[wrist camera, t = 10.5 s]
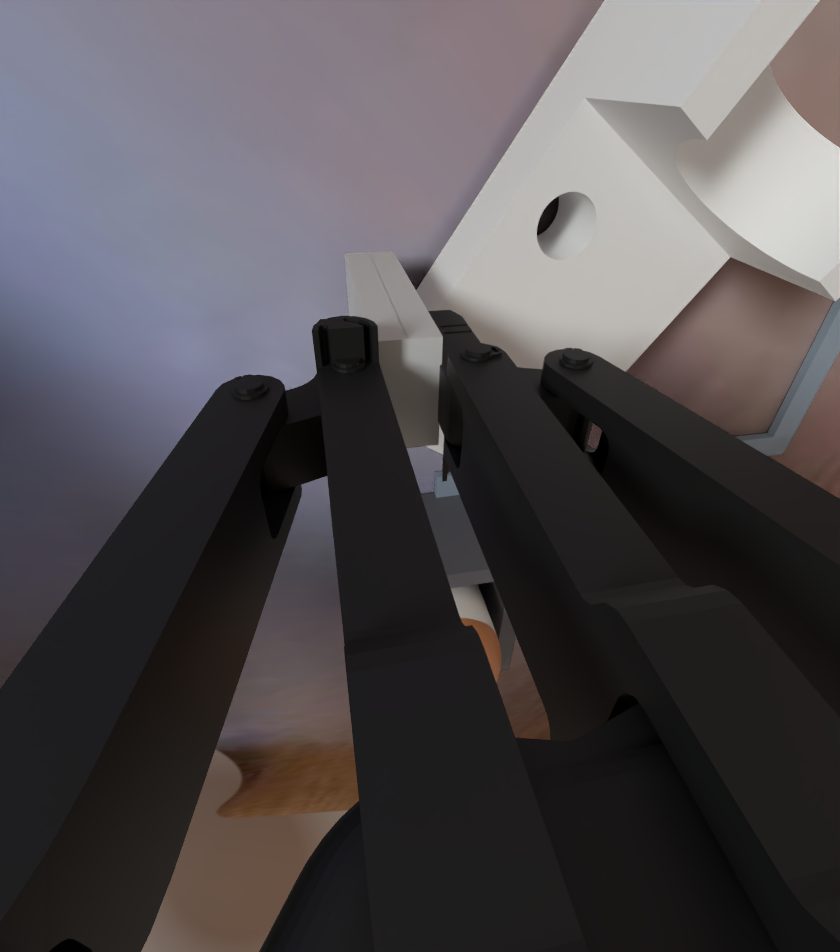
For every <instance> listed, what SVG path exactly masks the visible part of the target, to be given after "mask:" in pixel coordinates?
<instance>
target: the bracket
mask: <svg viewBox="0 0 840 952" xmlns="http://www.w3.org/2000/svg"><path fill="white" fill-rule="evenodd" d="M819 1H820V0H604V2H603V3H602V5H601V6H600V8H599V10H598V11H597V13H596V14H595V16H594V17H593V19H592V20H591V22H590V23H589V25H588V26H587V28H586V30H585V31H584V33H583V34H582V36H581V37H580V39H579V40H578V42H577V43H576V45H575V46H574V48H573V50H572V51H571V53H570V54H569V56H568V57H567V59H566V60H565V62H564V63H563V65H562V66H561V68H560V70H559V71H558V73H557V74H556V76H555V77H554V79H553V80H552V82H551V83H550V85H549V87H548V88H547V90H546V91H545V93H544V94H543V96H542V97H541V99H540V100H539V102H538V103H537V105H536V107H535V108H534V110H533V111H532V113H531V114H530V116H529V117H528V119H527V120H526V122H525V123H524V125H523V127H522V128H521V130H520V131H519V133H518V134H517V136H516V137H515V139H514V140H513V142H512V144H511V145H510V147H509V148H508V150H507V151H506V153H505V154H504V156H503V157H502V159H501V160H500V162H499V164H498V165H497V167H496V168H495V170H494V171H493V173H492V174H491V176H490V177H489V179H488V180H487V182H486V184H485V185H484V187H483V188H482V190H481V191H480V193H479V194H478V196H477V197H476V199H475V200H474V202H473V204H472V205H471V207H470V208H469V210H468V211H467V213H466V214H465V216H464V217H463V219H462V221H461V222H460V224H459V225H458V227H457V228H456V230H455V231H454V233H453V234H452V236H451V237H450V239H449V241H448V242H447V244H446V245H445V247H444V248H443V250H442V251H441V253H440V254H439V256H438V257H437V259H436V261H435V262H434V264H433V265H432V267H431V268H430V270H429V271H428V273H427V274H426V276H425V277H424V279H423V281H422V282H421V284H420V285H419V287H418V288H417V290H416V291H417V293H418V295H419V297H420V298H421V300H422V302H423V303H424V305H425V307H426V309H427V310H428V311H438V310H451V311H453V312H455V313H457V314H459V315H461V316H462V317H463V318H464V320H465V321H466V323H467V324H468V326H469V327H470V328H471V330H472V332H474V334H475V335H476V337H477V338H478V339H479V341H480V342H481V343H484V344H489V345H493V346H497V347H499V348H501V349H502V350H503V351H505V352H506V353H507V354H508V356H509V357H510V358H511V360H512V361H513V362H514V363H515V365H516V366H517V367H521V368H532V369H542V368H543V362H544V357H545V356H546V355H547V354H548V353H549V352H552V351H554V350H559V349H565V348H573V349H574V348H579V349H582V350H583V351H587V352H591V353H593V354H595V355H597V356H600V357H601V358H603V359H605V360H606V361H608V362H610V363H611V364H613V365H615V366H616V367H618V368H620V369H621V370H623V371H625V372H626V371H627V370H628V369H629V368H630V367H631V365H632V364H633V363H634V362H635V361H636V360H637V359H638V358H639V357H640V356H641V355H642V353H643V352H644V351H645V350H646V349H647V348H648V347H649V346H650V345H651V344H652V343H653V341H654V340H655V339H656V338H657V337H658V336H659V335H660V334H661V333H662V332H663V330H664V329H665V328H666V327H667V326H668V325H669V324H670V323H671V322H672V321H673V320H674V318H675V317H676V316H677V315H678V314H679V313H680V312H681V311H682V310H683V309H684V307H685V306H686V305H687V304H688V303H689V302H690V301H691V300H692V299H693V298H694V297H695V295H696V294H697V293H698V292H699V291H700V290H701V289H702V288H703V287H704V286H705V285H706V283H707V282H708V281H709V280H710V279H711V278H712V277H713V276H714V275H715V274H716V272H717V271H718V270H719V269H720V268H721V267H722V266H723V265H724V264H725V263H726V262H727V260H728V259H729V258H730V257H731V258H734V259H736V260H738V261H741V262H743V263H746V264H748V265H750V266H753V267H755V268H757V269H760V270H762V271H764V272H767V273H769V274H772V275H774V276H776V277H779V278H781V279H783V280H786V281H788V282H791V283H793V284H795V285H798V286H800V287H802V288H805V289H807V290H810V291H812V292H814V293H817V294H819V295H821V296H824V297H826V298H828V299H831V300H833V301H837V300H838V299H839V298H840V148H839V147H838V146H836V145H834V144H833V143H832V142H830V141H829V140H827V139H826V138H825V137H823V136H822V135H821V134H820V133H818V132H817V131H816V130H815V129H814V128H812V127H811V126H810V125H809V124H808V123H807V122H806V121H805V120H804V119H803V118H802V117H801V116H800V115H799V114H798V113H797V112H796V111H795V109H794V108H793V107H792V106H791V105H790V103H789V102H788V101H787V99H786V98H785V96H784V95H783V93H782V92H781V90H780V88H779V86H778V85H777V83H776V81H775V78H774V76H773V74H772V71H771V68H770V64H769V63H770V62H771V60H772V59H773V58H774V57H775V55H776V54H777V53H778V52H779V51H780V49H781V48H782V47H783V46H784V44H785V43H786V42H787V41H788V39H789V38H790V37H791V36H792V34H793V33H794V32H795V31H796V29H797V28H798V27H799V26H800V24H801V23H802V22H803V21H804V20H805V18H806V17H807V16H808V15H809V13H810V12H811V11H812V10H813V8H814V7H815V6H816V5H817V3H818V2H819ZM558 196H559V207H558V212H557V215H556V217H555V219H554V221H553V223H552V224H551V225H550V227H549V228H548V229H547V230H546V231H544V232H543V233H541V234H540V235H538V236H537V227H538V222H539V219H540V217H541V215H542V213H543V211H544V209H545V208H546V207H547V205H548V204H549V203H550V202H551V201H552V200H553V199H555V198H556V197H558ZM426 447H428V448H430V449H432V450H434V451H436V452H438V453H441V454H443V447H444V434H443V432H442V430H441V427H440V425H439V445H430V446H426Z"/></svg>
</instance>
